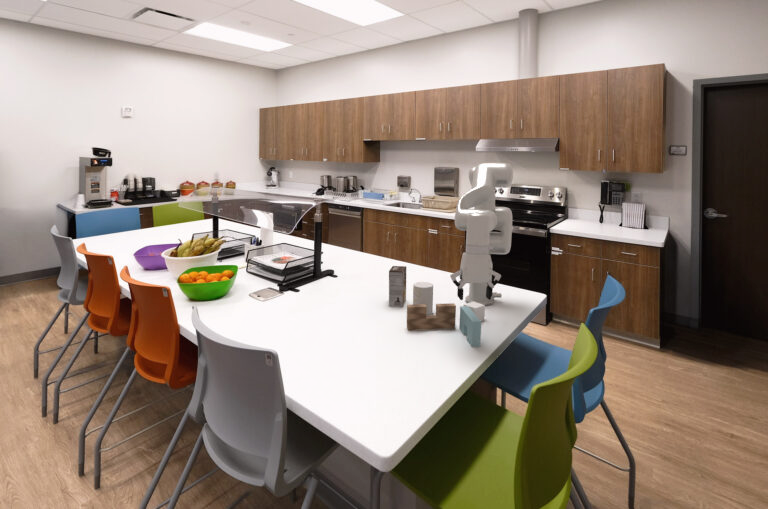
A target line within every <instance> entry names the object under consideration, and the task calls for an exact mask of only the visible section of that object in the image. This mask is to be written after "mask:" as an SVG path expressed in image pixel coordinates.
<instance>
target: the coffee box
mask: <svg viewBox="0 0 768 509" xmlns="http://www.w3.org/2000/svg"><path fill="white" fill-rule="evenodd" d="M406 302H407V266H405V265H404V266H403V265H402V266H401V265H393V266H392V267H390V269H389V270H388V307H393V308H394V307H395V308H403V307H404V306H405V303H406Z"/></svg>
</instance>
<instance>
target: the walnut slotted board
mask: <svg viewBox="0 0 768 509" xmlns="http://www.w3.org/2000/svg"><path fill="white" fill-rule="evenodd" d="M426 313H427V307H426V305H425V304H414V305H413V304H406V329H407V331H420V330H421V331H423V330H424V331H427V330H453V329H456V318H457V305H456V304H455V303H453V302H452V303H451V302H449V303H436V304H435V315H433V314H431V315H428V316H426Z"/></svg>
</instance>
